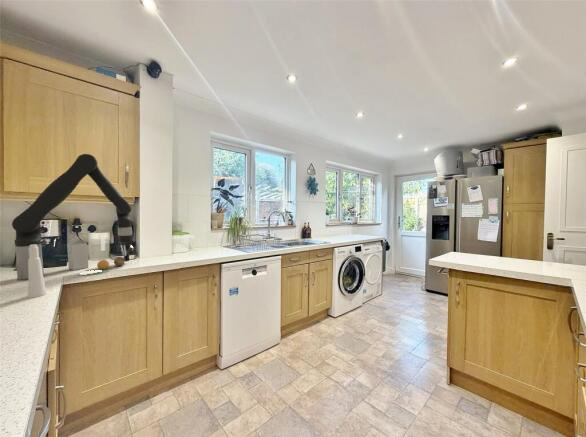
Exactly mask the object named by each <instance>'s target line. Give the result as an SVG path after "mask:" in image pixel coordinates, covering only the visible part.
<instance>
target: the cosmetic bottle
mask: <svg viewBox="0 0 586 437" xmlns="http://www.w3.org/2000/svg"><path fill="white" fill-rule="evenodd" d="M29 246H30V247H29V257H30V259H28V275H29V279H28V287H27V288H28V289H27V296H26V297H27V298H30V299H31V298H37V297H42V296H45V295H47V294H48V292H47V287H46V284H45V279H44V275H43V272H42V265H41V259H40V258H39V253H38V247H37V245H36V244H35V245H29Z"/></svg>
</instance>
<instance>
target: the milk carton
mask: <svg viewBox="0 0 586 437" xmlns="http://www.w3.org/2000/svg"><path fill="white" fill-rule="evenodd" d="M66 247H67V249H66V250H67V261H68V262H67V263H68V269H69V270H72V271H78V270H83V269H87V268H89V255H88V243H87V242H86V241H84V240H82V239H80V237H79V236H76V235H74V236H73V238H71V239H69V242H67V243H66Z"/></svg>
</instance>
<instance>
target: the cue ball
mask: <svg viewBox="0 0 586 437" xmlns="http://www.w3.org/2000/svg"><path fill="white" fill-rule="evenodd" d="M125 262H126V261H125V260H124V257H122V256H117V257H115V258H114V260H113V263H114V265H115V266H117V267H121V266H123V265H124V264H125Z"/></svg>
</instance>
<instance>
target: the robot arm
mask: <svg viewBox="0 0 586 437" xmlns="http://www.w3.org/2000/svg"><path fill="white" fill-rule="evenodd" d="M98 163H99V162H98V159H97V158H96V157H95V156H94V155H92V154H89V153H82V154H80V155H78V157H77V158H76V159H75V160H74V162H72V165H70V167H69V168H68V169H67V170H66V171H64V172H63V173H62V174H61V175H59V176H58V177H57V178H55V179H54V180H53V181H52V182H51V183H50V184H49V185H47V187H45V189H44V190H43V191H42V192H41V193H40V194H39V195H38V197H37V198H36V199H35V200H34V202H32V204H31V205H30V206H29V207H27V208H26V209H25V210H24V211H23V212H21V213H20V214H18V215H17V216H16V217H15V218H14V219H12V222H11V227H12V228H13V230H14V231H15V240H14V244H15V255H16V262H15V266H16V275H17V276H16V277H17V281H25V280H29V275H28V259H30V257H29V247H30V246H29V245H35V244H36V245H37V247H38V253H39V258H40V259H41V265H42V272H43V276H44V274H45V273H44V262H43V251H42V250H43V248H42V227H41V226H42V225H41V222H42V220H44V219H45V217H46V216H47V215H48V214H49V213H50V212H51V211H53V210H55V209H56V208H57V207H58V206H59V205H60V204H61V203H62V202H64V201H65V200H66V199H67V198H68V197H69V196H70V195H71V194H72V193H73V191H74V190H75V189H76V188H77V186H78V185H79V184H80V182H81V181H82V180H83V179H84V178H85V177H86V176H89V177H90V178H91V180H92V181H93V182H94V183H95V184H96V185H97V187H98V189H99V190H100V191H101V192H102V194H103V195H104V196H105V197H106V198H107V200H108V201H110V202H111V203H112V204H113V205H114V206H115V210H116V211H115V212H116V217H117V235H118V236H117V240H118V243H119V245H118V246H117V247H116V248H117V249H118V252H119V253H120V255H123V258H124V260H125V262H129V261H130V255H133V253H134V250H135V249H136V248H135V246H133V243H132V242H133V240H134V239H133V228H132V219H131V218H130V213H131V211H132V209H133V208H132V206H131V204H130V203H129V202H128V201H127V200H126V198H124V197H123V196H122V194H121V193H120V191H119V189H117V188H116V186H114V184H113V183H112V182H111V181H110V180H109V179H108V178H107V177H106V176H105V174H104V173H103V172H102V170H101V169H100V167H99V165H98Z"/></svg>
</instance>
